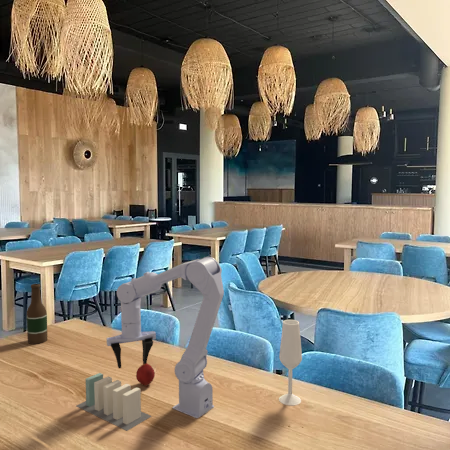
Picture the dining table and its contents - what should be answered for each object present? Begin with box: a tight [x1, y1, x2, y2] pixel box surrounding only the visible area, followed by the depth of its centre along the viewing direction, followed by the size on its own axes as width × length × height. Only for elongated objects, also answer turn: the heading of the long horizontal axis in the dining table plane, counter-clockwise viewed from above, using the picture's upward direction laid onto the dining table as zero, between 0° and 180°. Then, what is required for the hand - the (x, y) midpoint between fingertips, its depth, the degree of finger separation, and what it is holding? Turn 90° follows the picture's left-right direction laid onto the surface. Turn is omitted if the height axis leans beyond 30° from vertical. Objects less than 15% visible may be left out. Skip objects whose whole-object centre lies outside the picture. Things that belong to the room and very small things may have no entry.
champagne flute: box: [278, 319, 303, 406], centre depth 128 cm, size 7×7×24 cm
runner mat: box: [75, 400, 152, 432], centre depth 122 cm, size 22×9×1 cm, turn 54°
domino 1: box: [85, 372, 104, 407], centre depth 126 cm, size 2×5×8 cm, turn 144°
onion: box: [135, 362, 156, 387], centre depth 138 cm, size 6×6×8 cm
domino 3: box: [103, 379, 122, 415], centre depth 122 cm, size 2×5×8 cm, turn 144°
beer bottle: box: [26, 283, 48, 345], centre depth 178 cm, size 8×8×24 cm
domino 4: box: [113, 383, 132, 420], centre depth 119 cm, size 2×5×8 cm, turn 144°
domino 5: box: [123, 387, 142, 425], centre depth 117 cm, size 2×5×8 cm, turn 144°
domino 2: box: [94, 375, 113, 411], centre depth 124 cm, size 2×5×8 cm, turn 144°
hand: (132, 364), depth 131 cm, fingers open, 7 cm apart
